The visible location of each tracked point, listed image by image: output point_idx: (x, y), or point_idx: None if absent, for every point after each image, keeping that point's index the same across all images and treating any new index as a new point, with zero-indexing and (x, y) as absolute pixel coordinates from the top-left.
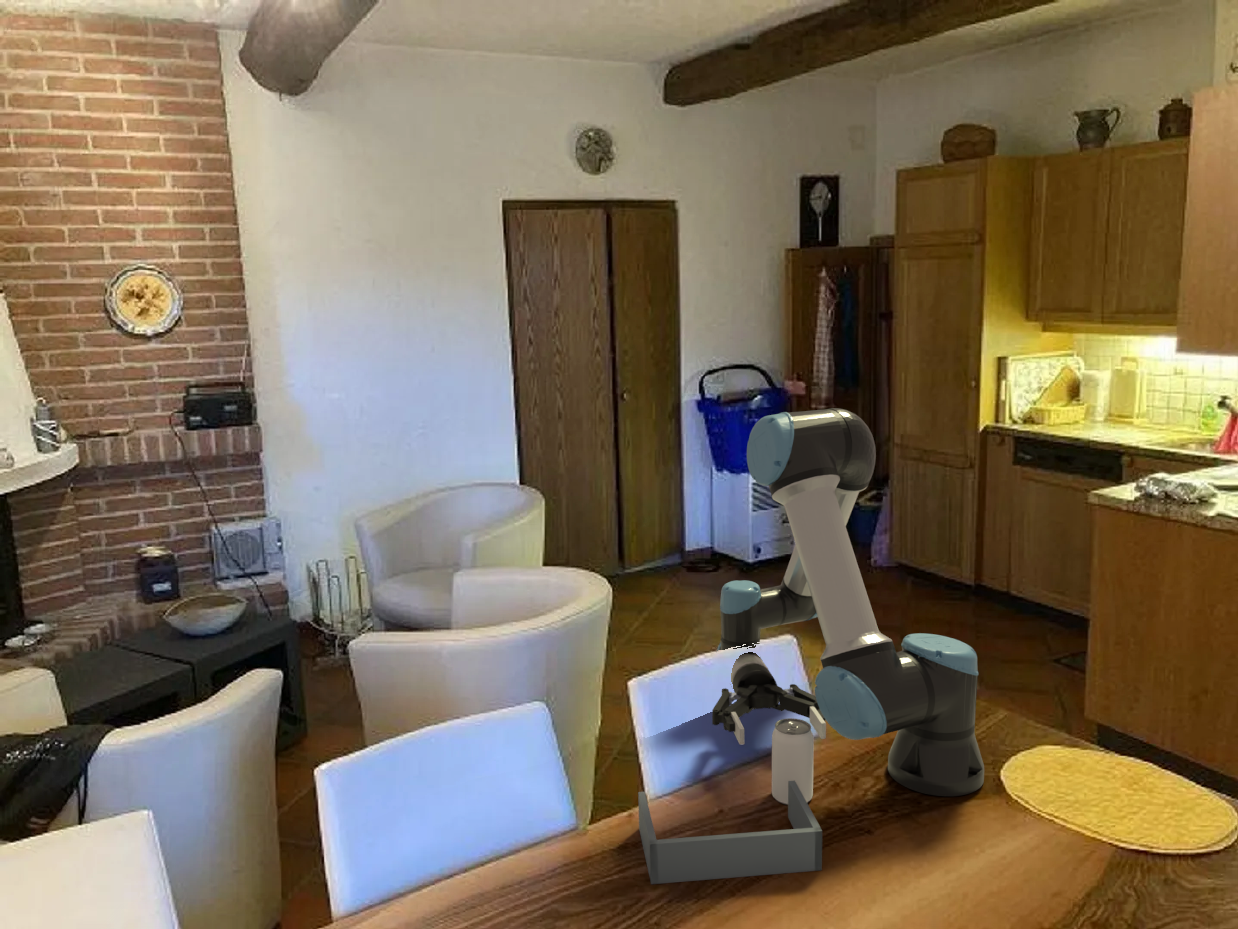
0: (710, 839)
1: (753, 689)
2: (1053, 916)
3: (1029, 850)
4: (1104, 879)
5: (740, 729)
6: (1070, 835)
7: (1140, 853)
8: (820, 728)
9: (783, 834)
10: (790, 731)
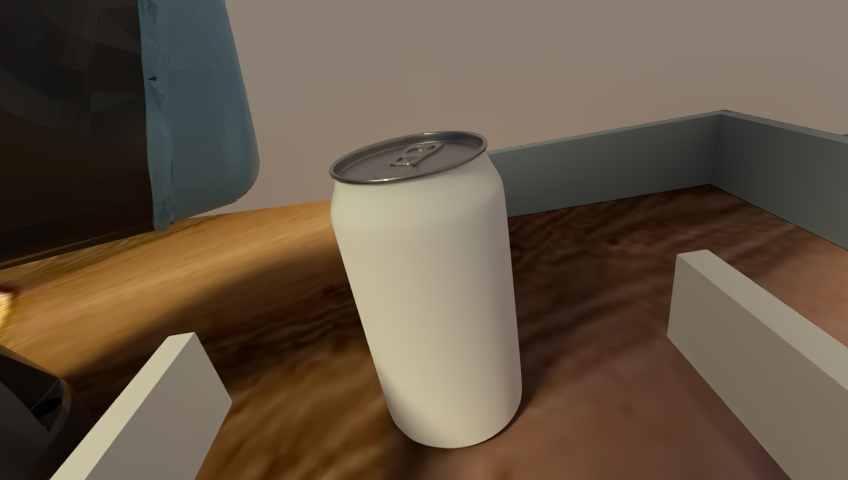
0: (623, 127)
1: None
2: (235, 213)
3: (132, 279)
4: (121, 251)
5: (702, 252)
6: (31, 309)
7: (13, 287)
8: (204, 372)
9: (502, 149)
10: (427, 148)
